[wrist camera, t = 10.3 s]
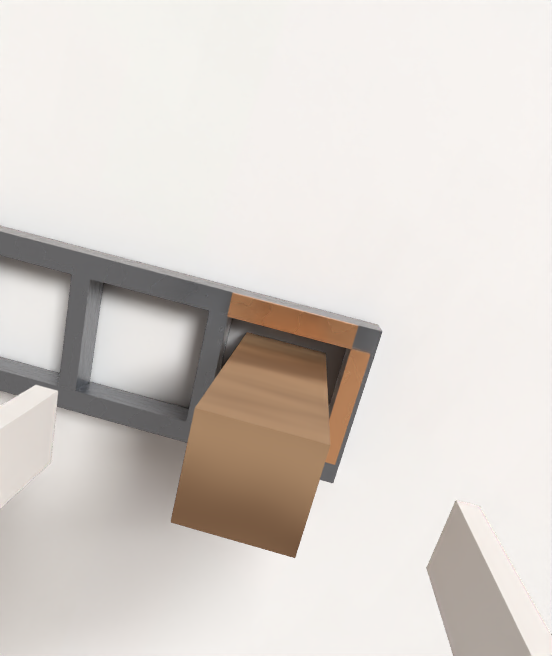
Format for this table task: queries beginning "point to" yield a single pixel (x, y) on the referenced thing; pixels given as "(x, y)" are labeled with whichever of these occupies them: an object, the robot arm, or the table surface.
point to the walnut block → (257, 446)
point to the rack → (222, 307)
